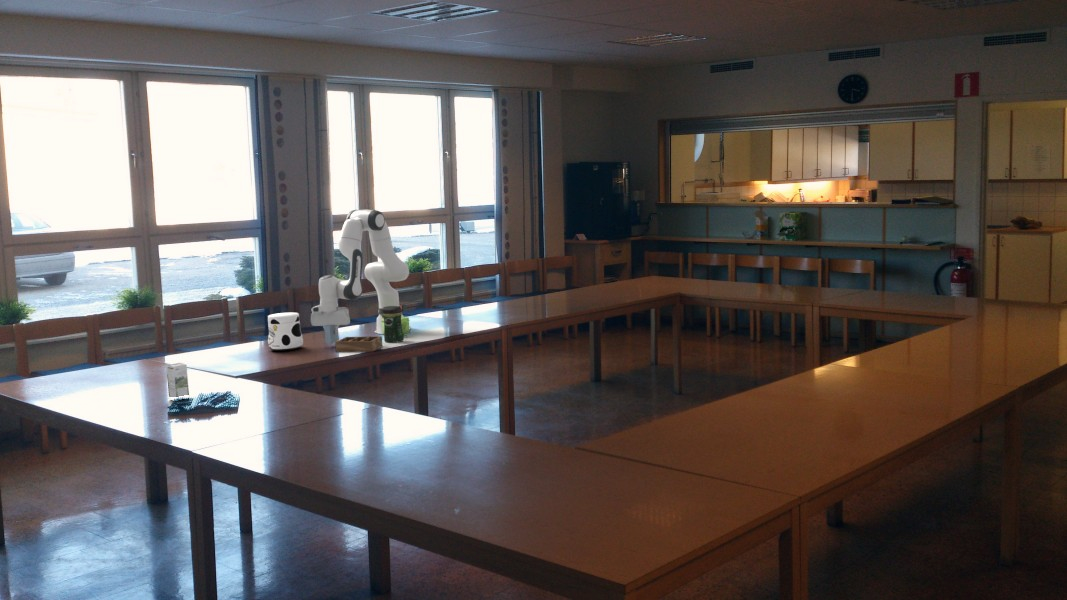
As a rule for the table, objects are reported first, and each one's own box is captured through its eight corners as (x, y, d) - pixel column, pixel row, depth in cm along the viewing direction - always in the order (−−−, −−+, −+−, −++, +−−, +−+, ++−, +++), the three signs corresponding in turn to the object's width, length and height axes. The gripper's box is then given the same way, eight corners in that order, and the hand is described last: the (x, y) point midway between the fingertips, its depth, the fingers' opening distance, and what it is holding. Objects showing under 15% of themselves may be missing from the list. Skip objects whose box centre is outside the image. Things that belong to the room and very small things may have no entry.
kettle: (382, 339, 500) (381, 318, 498) (382, 335, 513) (380, 314, 512) (411, 337, 502) (409, 316, 501) (410, 333, 516) (408, 312, 514)
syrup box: (182, 397, 384) (178, 362, 382) (190, 399, 380) (186, 363, 378) (169, 400, 379) (165, 364, 377) (177, 402, 375) (173, 366, 374)
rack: (347, 346, 483) (346, 336, 482) (382, 346, 479) (381, 336, 478) (336, 351, 469) (335, 341, 469) (372, 351, 465) (371, 341, 465)
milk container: (261, 352, 480) (258, 316, 478) (285, 345, 495) (282, 311, 493) (287, 353, 472) (284, 317, 470) (310, 347, 487) (308, 312, 485)
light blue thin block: (333, 340, 491) (332, 322, 490) (338, 340, 491) (337, 322, 489) (325, 343, 481) (324, 326, 480) (330, 343, 481) (329, 326, 480)
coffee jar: (406, 340, 493) (403, 305, 490) (397, 343, 486) (395, 307, 483) (390, 339, 497) (388, 304, 495) (381, 342, 490) (379, 306, 488)
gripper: (350, 305, 484) (353, 332, 486) (313, 306, 489) (316, 333, 491) (345, 307, 478) (348, 334, 480) (308, 308, 482) (310, 335, 485)
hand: (331, 334), depth 485 cm, fingers closed on light blue thin block, 3 cm apart
